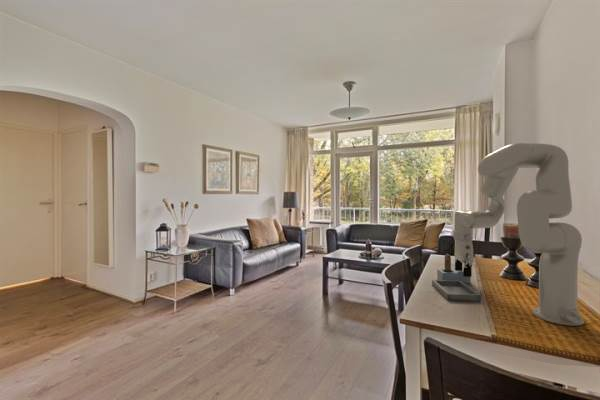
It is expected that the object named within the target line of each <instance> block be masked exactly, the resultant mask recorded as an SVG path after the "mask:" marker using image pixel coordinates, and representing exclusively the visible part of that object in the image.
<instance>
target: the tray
mask: <svg viewBox="0 0 600 400" xmlns="http://www.w3.org/2000/svg"><path fill="white" fill-rule="evenodd" d="M431 286H432V287H433V288H434V287H435V288H436V289H435V288H434V289H435V290H436V291H437V290H438V291H437V292H438V293H439V294H441V296H442V297H443V298H444V299H446V301H448V300H450V302H451V301H452V302H454V301H455V302H475V303H476V302H477V303H478V302H479V303H480V302H482V295H481V294H480V293H479V292H477V291H476V290H475V289H473V288H472V287H470V286H469V285H467V284H466V283H463V282H462V281H458V280H438V279H432V280H431Z"/></svg>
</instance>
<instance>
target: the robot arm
mask: <svg viewBox="0 0 600 400" xmlns="http://www.w3.org/2000/svg"><path fill="white" fill-rule="evenodd" d="M519 168H523V169H527V168H528V169H529V168H531V169H532V168H535V169H536V168H537V169H538V171H537V172H536V175H535V186H536V187H535V189H534V190H533V189H532V190H529V191H526V192H524V193H523V194H521V196H520V197H519V198H518V201H517V203H516V214H517V215H516V216H517V217H516V218H517V225H518V236H519V241H520V243H521V245H522V246H523V247H524V249H525V250H527V251H529V252H531V253H535V254H541V255H540V258H539V263H538V264H539V265H538V303H539V304H538V307H534V308H533V309H532V313H533V315H534V316H535V317H537V318H539V319H541V320H544V321H545V322H546V321H547V322H549V323H553V324H557V325H563V326H571V327H572V326H573V327H574V326H575V327H576V326H582V325H584V324H585V319H584V317H582V316H581V315H580V310H579V309H578V270H579V269H578V268H579V265H578V264H579V256H580V251H581V247H582V242H583V240H582V235H581V232H580V230H579V229H578V228H576V227H575V226H574V225H572V224H570V223H567V222H566V223H565V222H558V221H557V222H550V219H561V218H565V217H567V216H569V215H570V214H571V212H572V209H573V201H572V192H571V184H570V175H569V158H568V155H567V153H566V152H565V150H564V149H563V148H561V147H560V146H557V145H553V144H548V143H535V142H534V143H526V142H525V143H523V142H518V143H517V142H516V143H511V144H508V145H505V146H504V147H501V148H499V149H498V150H495V151H493V152H492V153H489V154H488V155H486V156H485V157H483V158H482V159H481V160H480V162H479V163H478V167H477V171H478V174H479V175H480V176H481V177H483V178H485V179H484V180H483V183H482V185H481V186H480V192H481V193H482V194H483V195H484V196H485V197H487V198H489V199H490V201H489V205H488V207H487V209H486V210H480V211H479V210H477V211H475V210H473V211H472V210H471V211H470V210H466V209H465V210H456V211H455V212H454V219H453V220H454V221H453V226H454V229H453V230H454V231H453V232H454V233H453V237H454V238H453V240H454V270H455V271H464V273H463V275H464V276H465V277H472V274H473V273H472V268H473V263H474V261H475V260H474V258H475V257H474V245H473V238H474V236H473V234H474V232H473V230H475V229H489V228H493V227H495V226H497V224H498V223H499V221H500V220H501V218H502V216H503V215H504V213H505V207H506V206H505V205H506V203H505V199H504V196H505V194H506V192H507V190H508V188H509V187H510V184H511V183H512V182H513V179H514V178H515V176H516V174H517V173H518V171H519ZM463 266H464V267H463Z"/></svg>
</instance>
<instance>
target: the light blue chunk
mask: <svg viewBox="0 0 600 400" xmlns="http://www.w3.org/2000/svg"><path fill="white" fill-rule="evenodd" d="M436 272H437V273H436V274H437V276H436V277H437V279H436V280H458V281H462V282H463V283H464V284H466V283H467V284H469V283H470V284H471V277H472V276H471V277H465V276H464V275H463V273H464V270H462V271H456V270H455V269H453V268H451V272H445V268H437V269H436Z"/></svg>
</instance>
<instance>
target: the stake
mask: <svg viewBox="0 0 600 400" xmlns="http://www.w3.org/2000/svg"><path fill="white" fill-rule="evenodd" d="M444 269H445V272H451V269H452V256H451V255H450V254H449V253H445V255H444Z"/></svg>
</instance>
